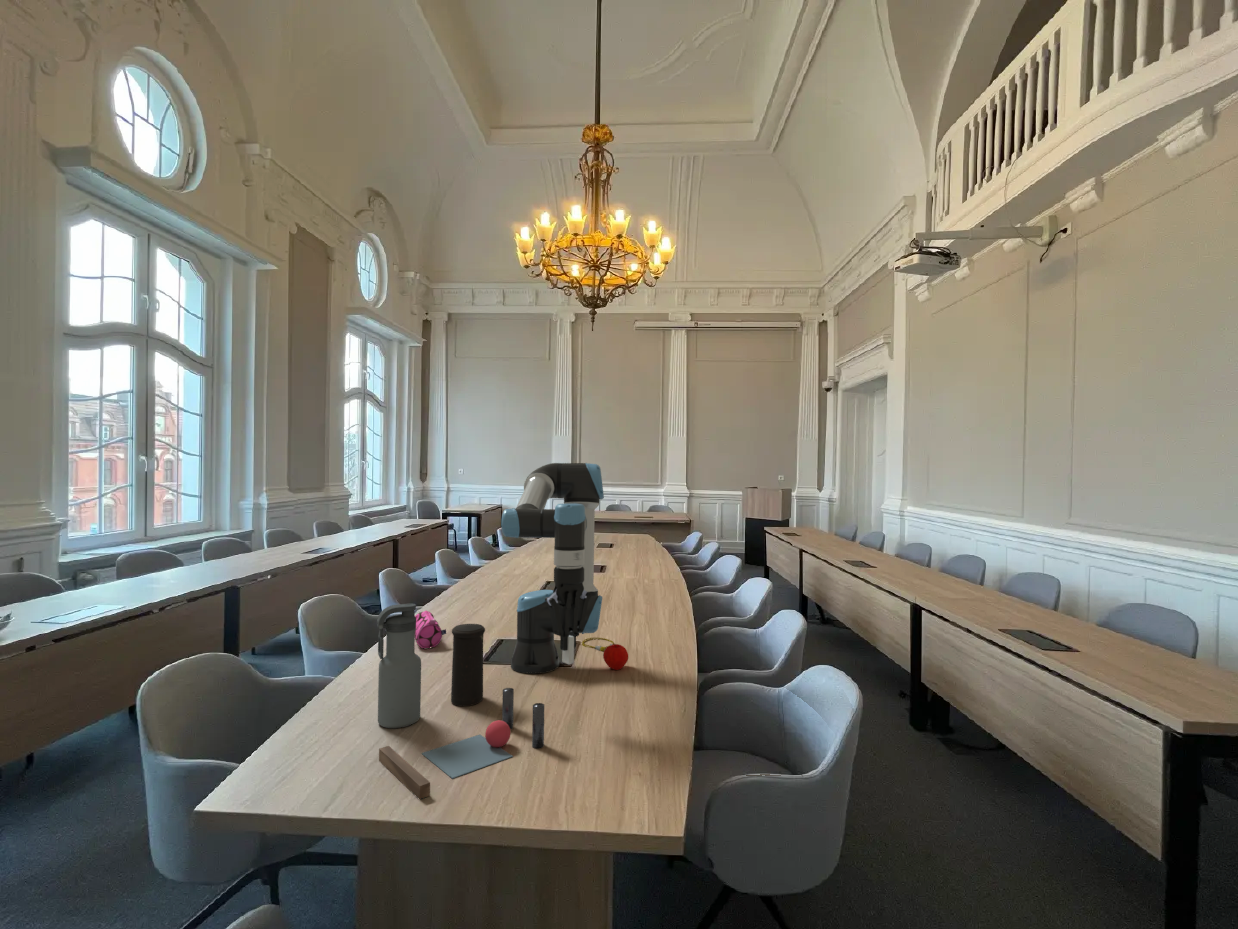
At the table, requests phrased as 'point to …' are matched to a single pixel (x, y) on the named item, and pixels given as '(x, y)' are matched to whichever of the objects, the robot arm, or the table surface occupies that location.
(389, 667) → the water bottle
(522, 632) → the robot arm
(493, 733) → the ball
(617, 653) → the apple
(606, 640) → the yellow cable loop
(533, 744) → the post
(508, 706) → the post
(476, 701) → the container
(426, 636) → the pencil case
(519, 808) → the table surface
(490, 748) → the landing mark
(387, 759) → the wall
